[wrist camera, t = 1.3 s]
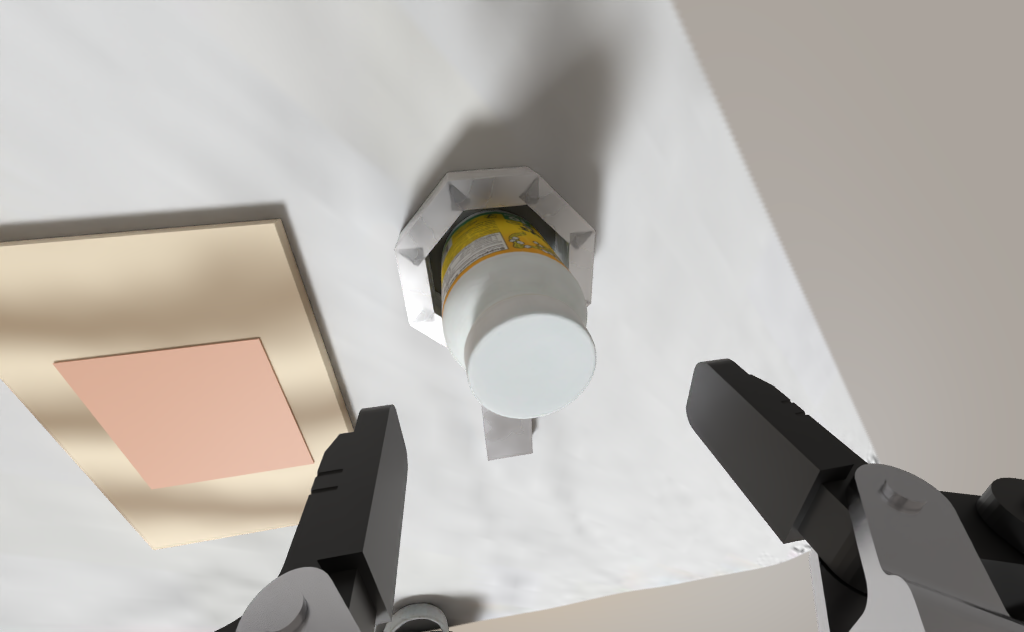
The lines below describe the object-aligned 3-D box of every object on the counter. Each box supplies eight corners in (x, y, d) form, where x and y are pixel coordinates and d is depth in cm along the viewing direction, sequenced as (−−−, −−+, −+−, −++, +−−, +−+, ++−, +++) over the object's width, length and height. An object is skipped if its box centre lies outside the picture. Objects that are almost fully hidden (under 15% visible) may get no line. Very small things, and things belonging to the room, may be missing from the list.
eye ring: (388, 176, 17) (380, 185, 15) (580, 162, 18) (599, 169, 16) (443, 453, 26) (443, 485, 23) (569, 433, 27) (581, 461, 24)
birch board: (-84, 249, 15) (-112, 256, 15) (280, 218, 17) (272, 223, 16) (161, 538, 25) (152, 551, 24) (378, 500, 27) (376, 512, 26)
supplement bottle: (420, 244, 19) (402, 353, 10) (512, 185, 18) (574, 250, 10) (478, 322, 21) (501, 459, 13) (561, 273, 21) (642, 383, 12)
